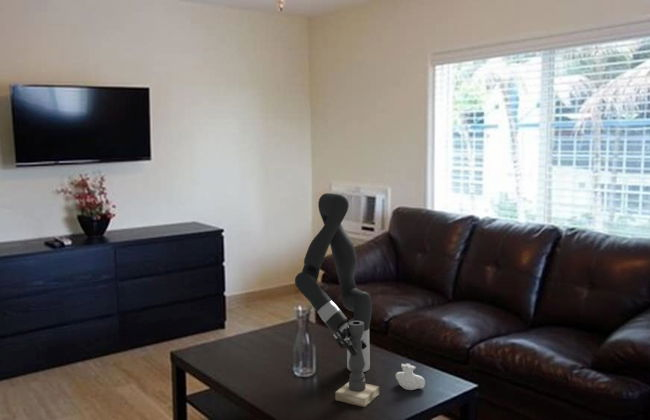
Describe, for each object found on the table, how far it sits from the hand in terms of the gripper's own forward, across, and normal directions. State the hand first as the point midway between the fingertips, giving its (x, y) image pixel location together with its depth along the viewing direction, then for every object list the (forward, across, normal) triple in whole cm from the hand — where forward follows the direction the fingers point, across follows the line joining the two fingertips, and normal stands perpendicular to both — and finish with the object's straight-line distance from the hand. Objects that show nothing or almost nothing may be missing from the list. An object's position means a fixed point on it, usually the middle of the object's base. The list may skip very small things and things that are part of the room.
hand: (360, 351), depth 217 cm
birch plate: (+12, 0, -14) cm, 18 cm away
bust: (+22, -16, -4) cm, 27 cm away
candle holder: (+9, -1, -12) cm, 15 cm away
